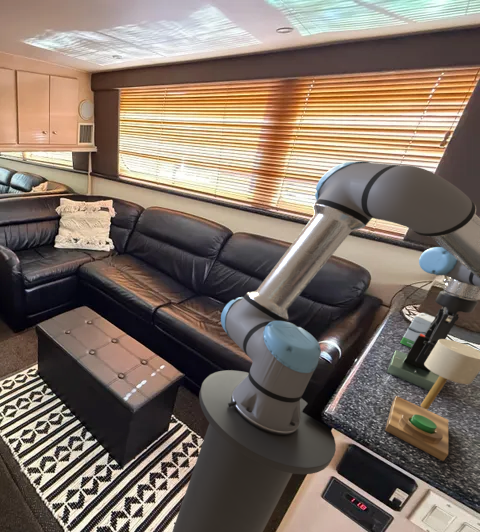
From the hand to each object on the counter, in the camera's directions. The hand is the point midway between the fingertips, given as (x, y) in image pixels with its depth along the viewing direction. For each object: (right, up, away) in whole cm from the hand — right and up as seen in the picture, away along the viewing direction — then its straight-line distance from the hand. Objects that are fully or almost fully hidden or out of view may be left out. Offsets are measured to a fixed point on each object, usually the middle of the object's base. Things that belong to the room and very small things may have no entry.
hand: (422, 355), depth 99 cm
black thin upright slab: (0, -4, +1) cm, 4 cm away
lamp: (-19, -8, -18) cm, 27 cm away
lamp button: (-26, -10, -24) cm, 37 cm away
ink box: (+18, -2, +21) cm, 28 cm away
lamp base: (-23, -13, -20) cm, 33 cm away
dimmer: (-1, -6, +2) cm, 7 cm away
